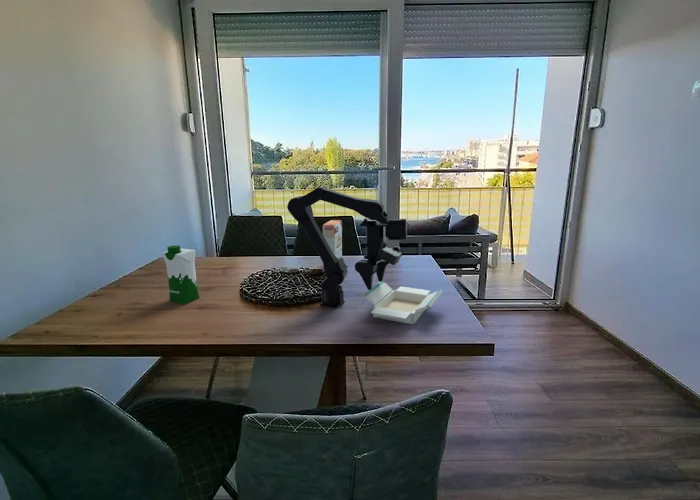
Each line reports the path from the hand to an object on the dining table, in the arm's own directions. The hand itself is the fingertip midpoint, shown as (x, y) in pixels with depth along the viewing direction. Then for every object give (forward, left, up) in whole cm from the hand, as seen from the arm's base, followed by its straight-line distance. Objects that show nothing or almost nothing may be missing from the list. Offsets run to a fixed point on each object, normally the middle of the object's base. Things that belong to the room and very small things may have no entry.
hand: (375, 285), depth 131 cm
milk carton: (-64, -23, -8) cm, 69 cm away
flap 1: (+3, 0, -4) cm, 5 cm away
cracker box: (-36, +36, -8) cm, 52 cm away
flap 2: (+16, 0, -4) cm, 17 cm away
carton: (+10, 0, -7) cm, 12 cm away
